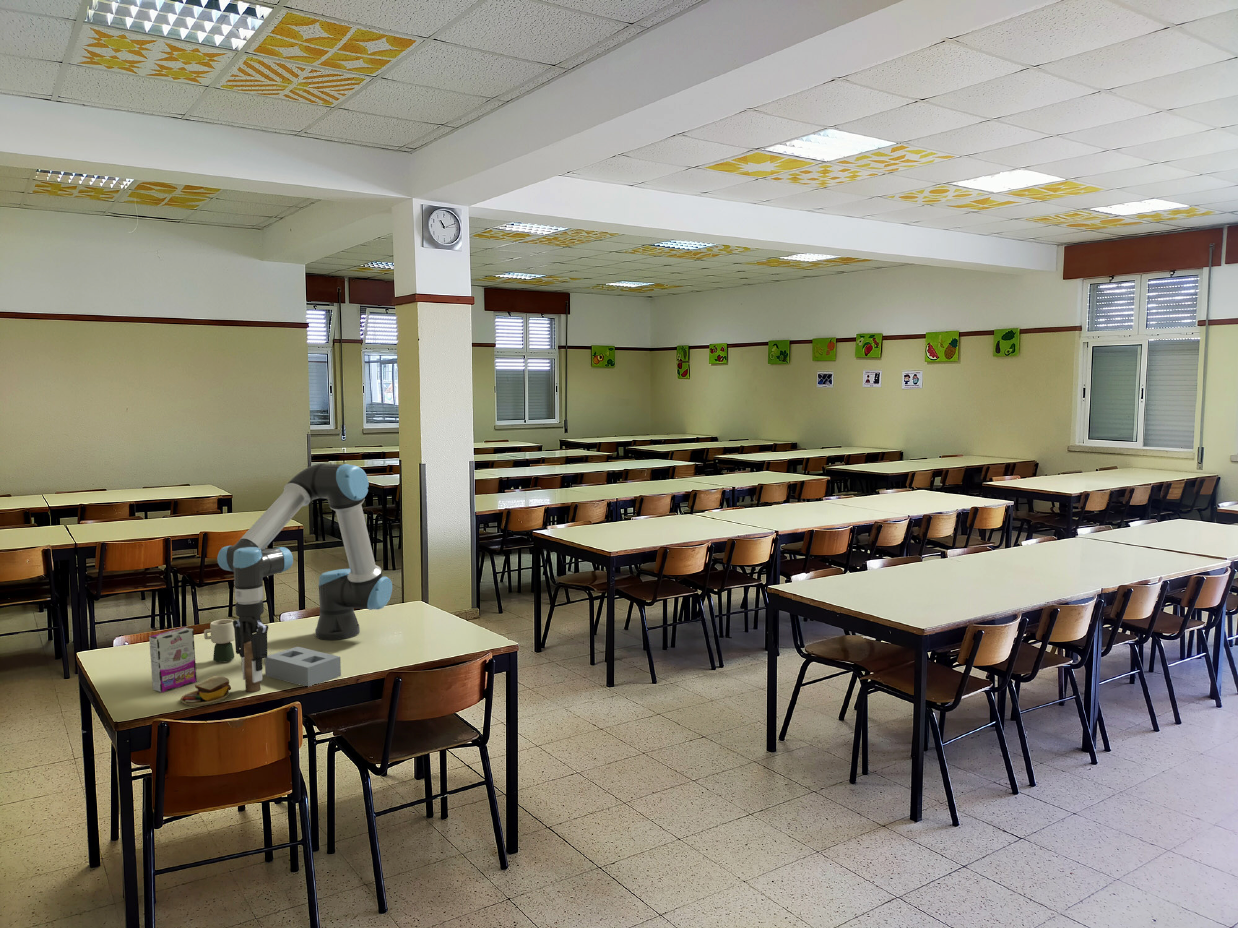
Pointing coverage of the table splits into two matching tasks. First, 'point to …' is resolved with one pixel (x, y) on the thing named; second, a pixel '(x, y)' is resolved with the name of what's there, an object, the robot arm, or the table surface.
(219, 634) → the cream green trophy cup
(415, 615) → the table surface
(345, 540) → the robot arm
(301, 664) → the socket block
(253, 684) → the walnut dowel
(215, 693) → the toy sandwich meal
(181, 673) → the candy bar box
